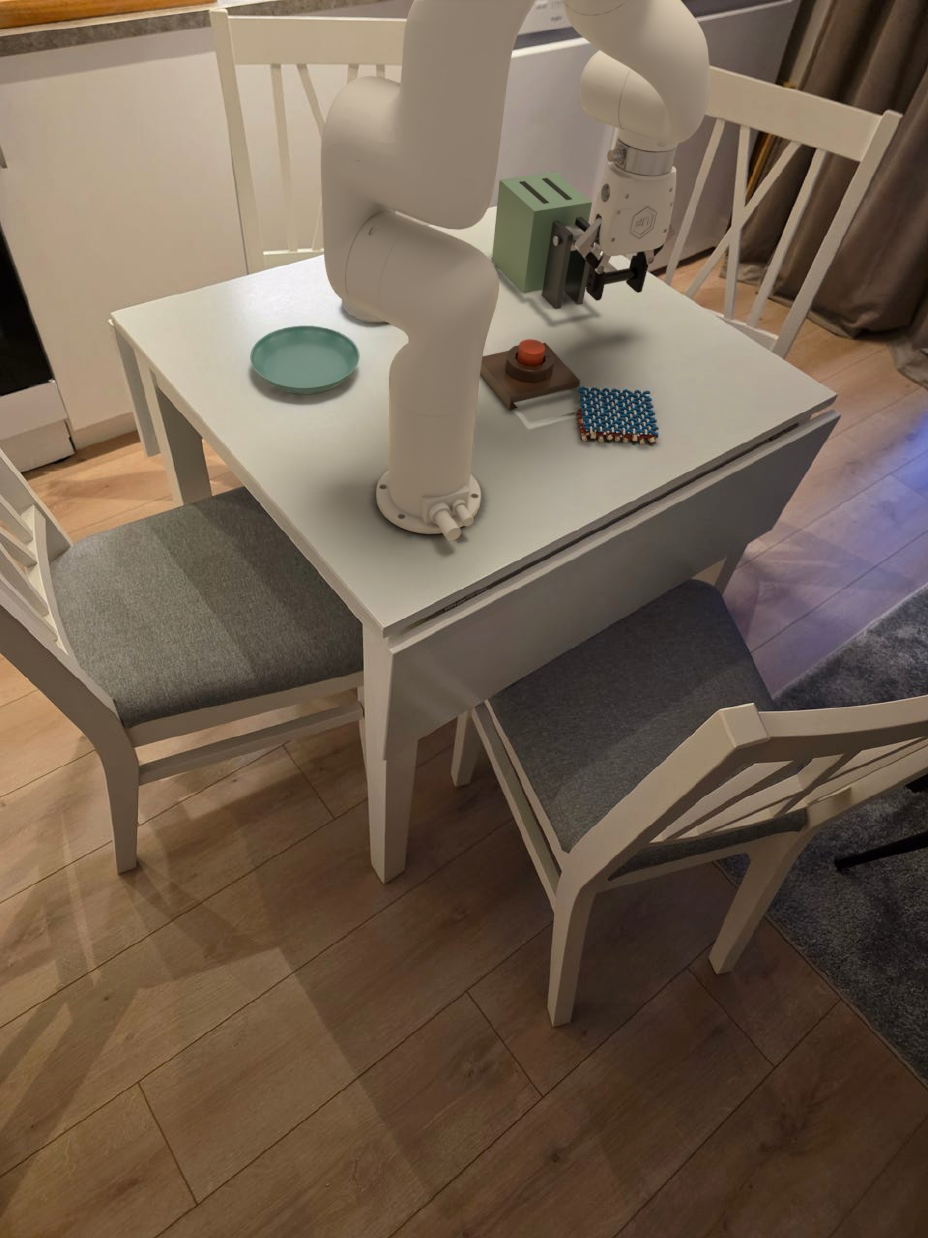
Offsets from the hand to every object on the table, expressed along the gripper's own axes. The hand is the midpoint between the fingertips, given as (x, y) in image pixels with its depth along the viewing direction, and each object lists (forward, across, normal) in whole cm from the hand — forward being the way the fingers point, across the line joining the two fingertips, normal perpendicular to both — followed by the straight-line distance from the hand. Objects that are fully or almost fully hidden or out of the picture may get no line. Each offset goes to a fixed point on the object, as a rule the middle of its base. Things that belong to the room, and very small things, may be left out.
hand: (613, 290), depth 116 cm
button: (+5, -15, -4) cm, 16 cm away
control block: (+9, -15, -4) cm, 18 cm away
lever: (-1, 0, +6) cm, 6 cm away
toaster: (+9, 0, +21) cm, 23 cm away
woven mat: (+9, -8, -16) cm, 20 cm away
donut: (+9, -28, +21) cm, 36 cm away
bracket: (+9, 0, +12) cm, 15 cm away
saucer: (+9, -43, +9) cm, 45 cm away
